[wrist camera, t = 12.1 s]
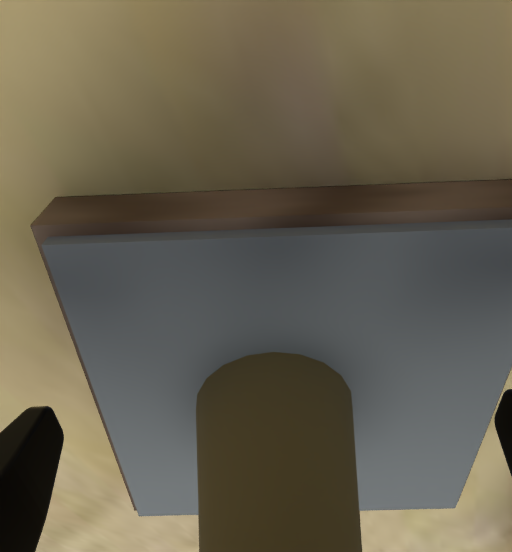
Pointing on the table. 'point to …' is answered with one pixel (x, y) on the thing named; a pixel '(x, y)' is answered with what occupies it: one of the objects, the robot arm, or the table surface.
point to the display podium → (292, 319)
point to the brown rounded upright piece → (276, 458)
